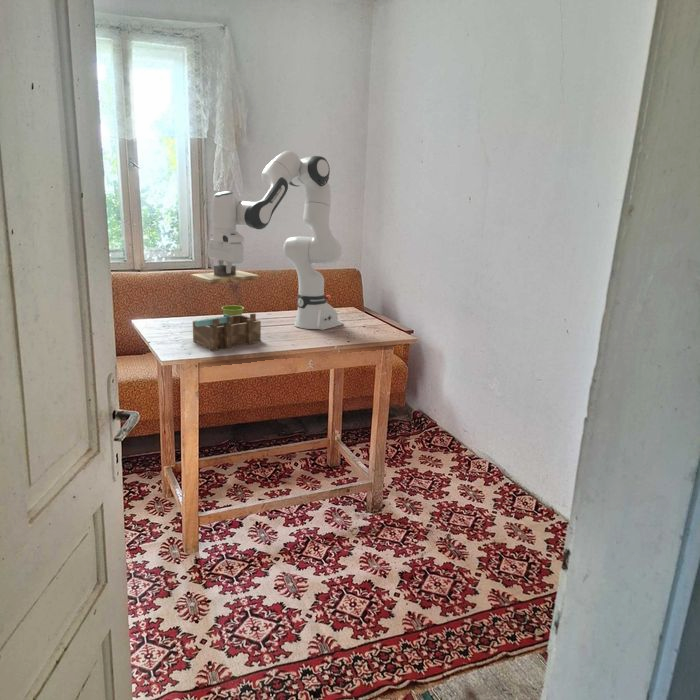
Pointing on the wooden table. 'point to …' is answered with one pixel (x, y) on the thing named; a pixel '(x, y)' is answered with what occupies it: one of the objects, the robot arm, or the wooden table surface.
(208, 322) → the bar
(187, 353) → the wooden table surface
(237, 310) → the plant pot
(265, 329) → the wooden table surface
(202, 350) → the wooden table surface
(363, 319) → the wooden table surface
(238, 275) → the lid
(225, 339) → the wooden crate
